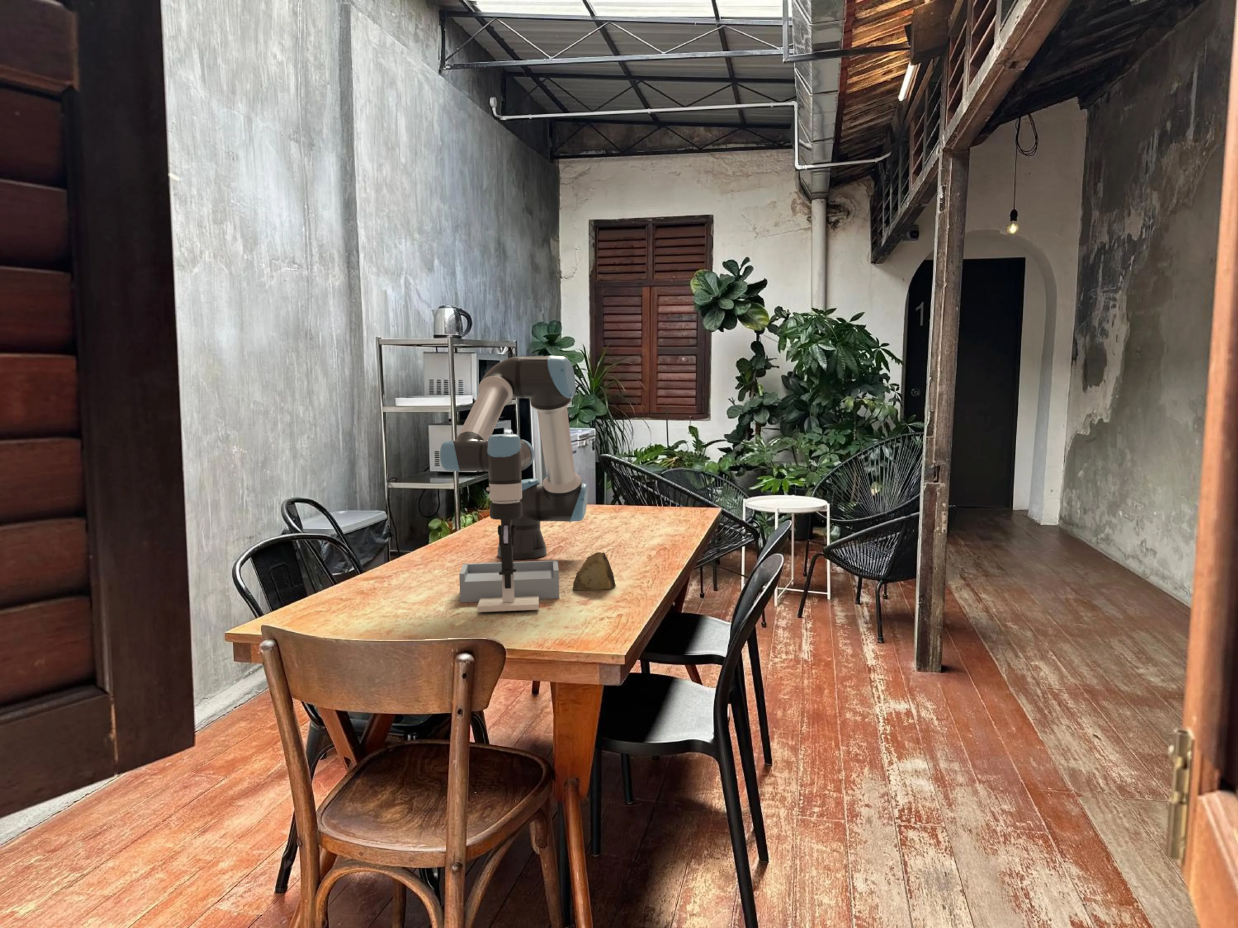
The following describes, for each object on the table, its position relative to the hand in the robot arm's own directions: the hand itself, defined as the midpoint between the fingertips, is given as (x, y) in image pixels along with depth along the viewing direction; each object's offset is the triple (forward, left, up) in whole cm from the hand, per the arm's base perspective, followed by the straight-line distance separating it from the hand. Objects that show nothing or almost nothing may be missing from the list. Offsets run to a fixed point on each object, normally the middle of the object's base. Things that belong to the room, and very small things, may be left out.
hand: (508, 600), depth 198 cm
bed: (-14, 0, -2) cm, 15 cm away
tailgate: (-7, 0, -2) cm, 7 cm away
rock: (-17, +21, -2) cm, 27 cm away
